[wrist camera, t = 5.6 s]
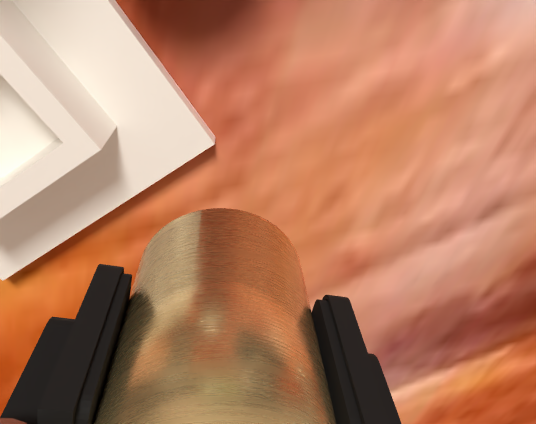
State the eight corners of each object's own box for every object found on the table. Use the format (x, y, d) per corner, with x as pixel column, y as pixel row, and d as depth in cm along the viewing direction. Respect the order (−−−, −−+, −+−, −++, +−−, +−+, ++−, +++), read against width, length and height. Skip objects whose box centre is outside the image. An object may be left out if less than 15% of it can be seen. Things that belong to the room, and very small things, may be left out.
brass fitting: (330, 294, 14) (469, 771, 6) (204, 362, 14) (170, 855, 7) (242, 177, 12) (268, 646, 4) (103, 263, 13) (-112, 790, 5)
